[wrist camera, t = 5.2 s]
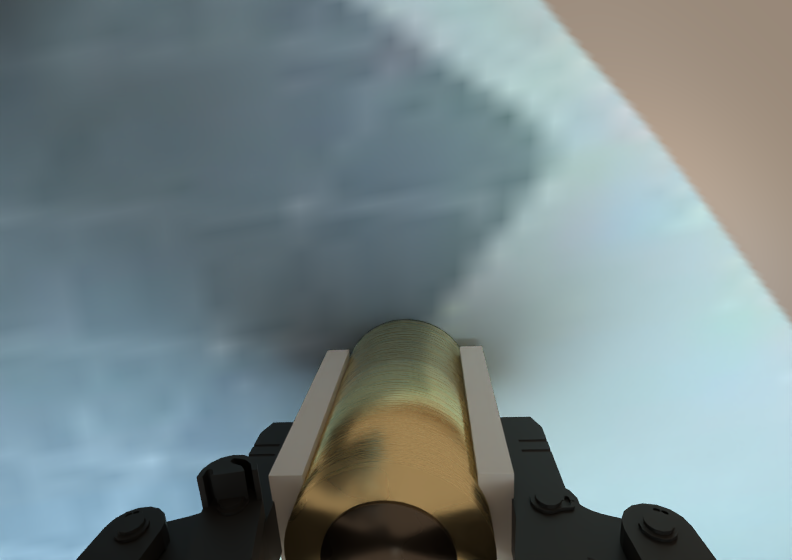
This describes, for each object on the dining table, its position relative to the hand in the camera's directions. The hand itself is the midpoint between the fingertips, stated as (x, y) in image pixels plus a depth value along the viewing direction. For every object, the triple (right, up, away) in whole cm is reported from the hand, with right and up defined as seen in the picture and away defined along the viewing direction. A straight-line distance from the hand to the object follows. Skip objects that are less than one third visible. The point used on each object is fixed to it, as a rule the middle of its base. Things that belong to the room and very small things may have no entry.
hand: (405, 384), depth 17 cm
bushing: (0, 0, +1) cm, 1 cm away
